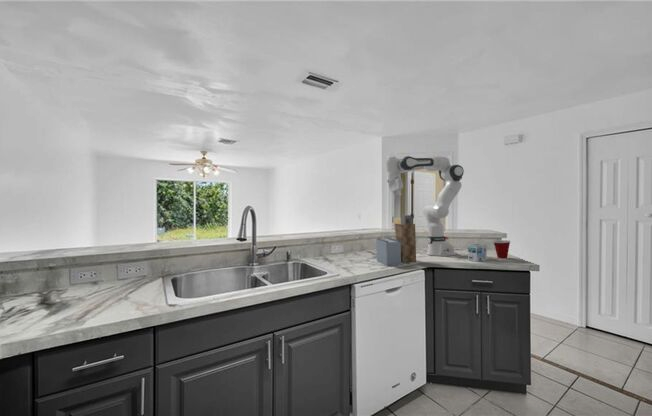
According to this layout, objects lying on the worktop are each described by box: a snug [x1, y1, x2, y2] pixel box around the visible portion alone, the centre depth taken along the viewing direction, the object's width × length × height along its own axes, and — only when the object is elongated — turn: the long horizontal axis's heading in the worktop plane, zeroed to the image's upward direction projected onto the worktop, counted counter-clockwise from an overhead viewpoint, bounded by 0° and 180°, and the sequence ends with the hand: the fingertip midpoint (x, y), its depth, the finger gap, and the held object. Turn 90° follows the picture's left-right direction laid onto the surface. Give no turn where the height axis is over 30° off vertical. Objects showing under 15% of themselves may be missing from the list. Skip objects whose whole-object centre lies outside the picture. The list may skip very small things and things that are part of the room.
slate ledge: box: [375, 237, 402, 266], centre depth 195 cm, size 10×18×16 cm, turn 11°
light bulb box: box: [467, 243, 488, 263], centre depth 194 cm, size 11×7×11 cm, turn 117°
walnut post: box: [394, 223, 417, 264], centre depth 198 cm, size 10×10×26 cm
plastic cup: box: [492, 239, 511, 259], centre depth 200 cm, size 11×11×12 cm
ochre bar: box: [393, 214, 413, 224], centre depth 203 cm, size 5×20×6 cm, turn 11°
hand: (398, 196), depth 215 cm, fingers open, 8 cm apart
